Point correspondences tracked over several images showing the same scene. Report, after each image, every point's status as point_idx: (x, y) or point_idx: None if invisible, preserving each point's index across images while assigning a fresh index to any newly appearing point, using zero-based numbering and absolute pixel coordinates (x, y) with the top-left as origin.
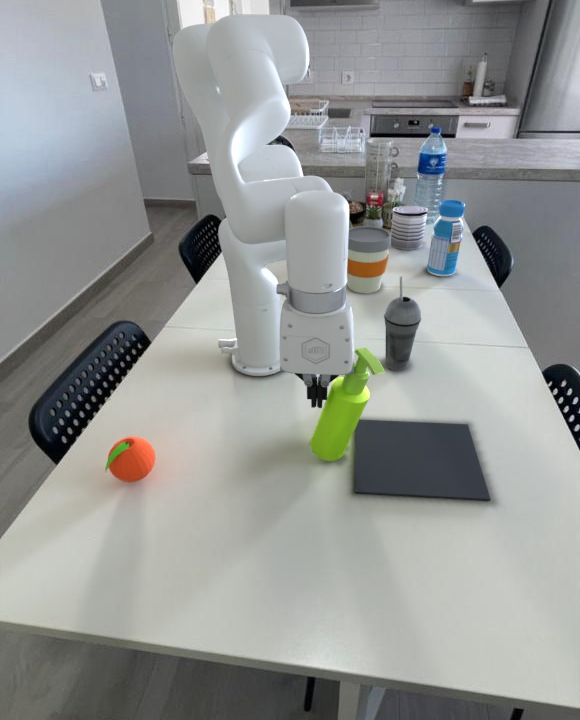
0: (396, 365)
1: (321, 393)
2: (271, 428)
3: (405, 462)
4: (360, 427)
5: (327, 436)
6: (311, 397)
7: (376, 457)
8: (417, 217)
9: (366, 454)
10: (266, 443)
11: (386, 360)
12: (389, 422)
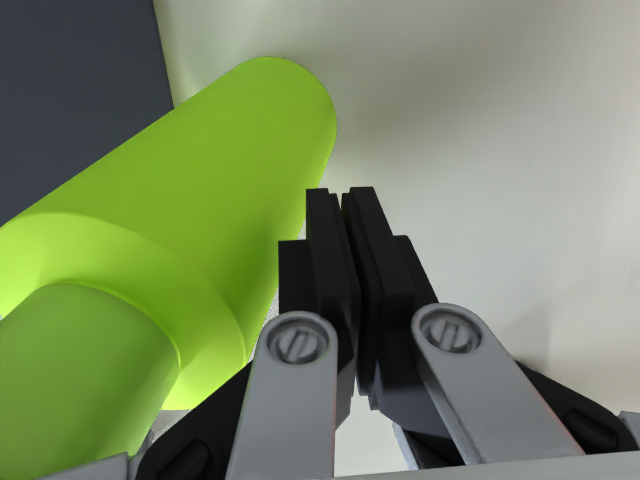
0: None
1: (318, 260)
2: (458, 194)
3: None
4: None
5: (267, 99)
6: (389, 230)
7: (88, 95)
8: None
9: (129, 106)
10: (478, 131)
11: (147, 443)
12: None
